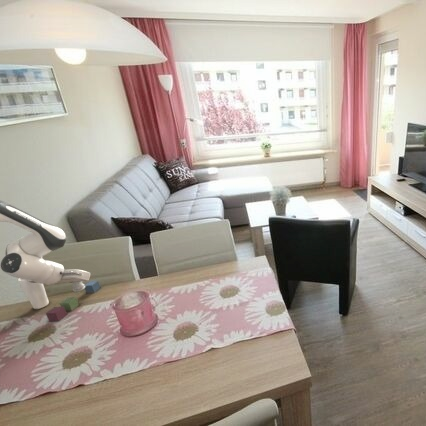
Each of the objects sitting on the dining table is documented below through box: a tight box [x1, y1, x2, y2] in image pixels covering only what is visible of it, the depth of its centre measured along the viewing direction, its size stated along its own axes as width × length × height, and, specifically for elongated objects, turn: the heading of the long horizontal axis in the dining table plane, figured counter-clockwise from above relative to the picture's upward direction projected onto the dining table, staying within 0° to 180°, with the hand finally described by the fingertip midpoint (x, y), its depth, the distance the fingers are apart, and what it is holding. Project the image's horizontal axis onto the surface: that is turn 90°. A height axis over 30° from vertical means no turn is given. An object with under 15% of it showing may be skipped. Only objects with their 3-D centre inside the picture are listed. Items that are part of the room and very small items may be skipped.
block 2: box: [59, 296, 80, 312], centre depth 126 cm, size 4×4×4 cm
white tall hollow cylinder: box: [17, 278, 50, 310], centre depth 127 cm, size 7×7×15 cm
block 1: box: [45, 306, 68, 322], centre depth 120 cm, size 4×4×4 cm
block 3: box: [84, 280, 101, 294], centre depth 138 cm, size 4×4×4 cm
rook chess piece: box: [72, 282, 85, 293], centre depth 130 cm, size 4×4×8 cm
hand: (77, 280), depth 130 cm, fingers closed on rook chess piece, 3 cm apart
